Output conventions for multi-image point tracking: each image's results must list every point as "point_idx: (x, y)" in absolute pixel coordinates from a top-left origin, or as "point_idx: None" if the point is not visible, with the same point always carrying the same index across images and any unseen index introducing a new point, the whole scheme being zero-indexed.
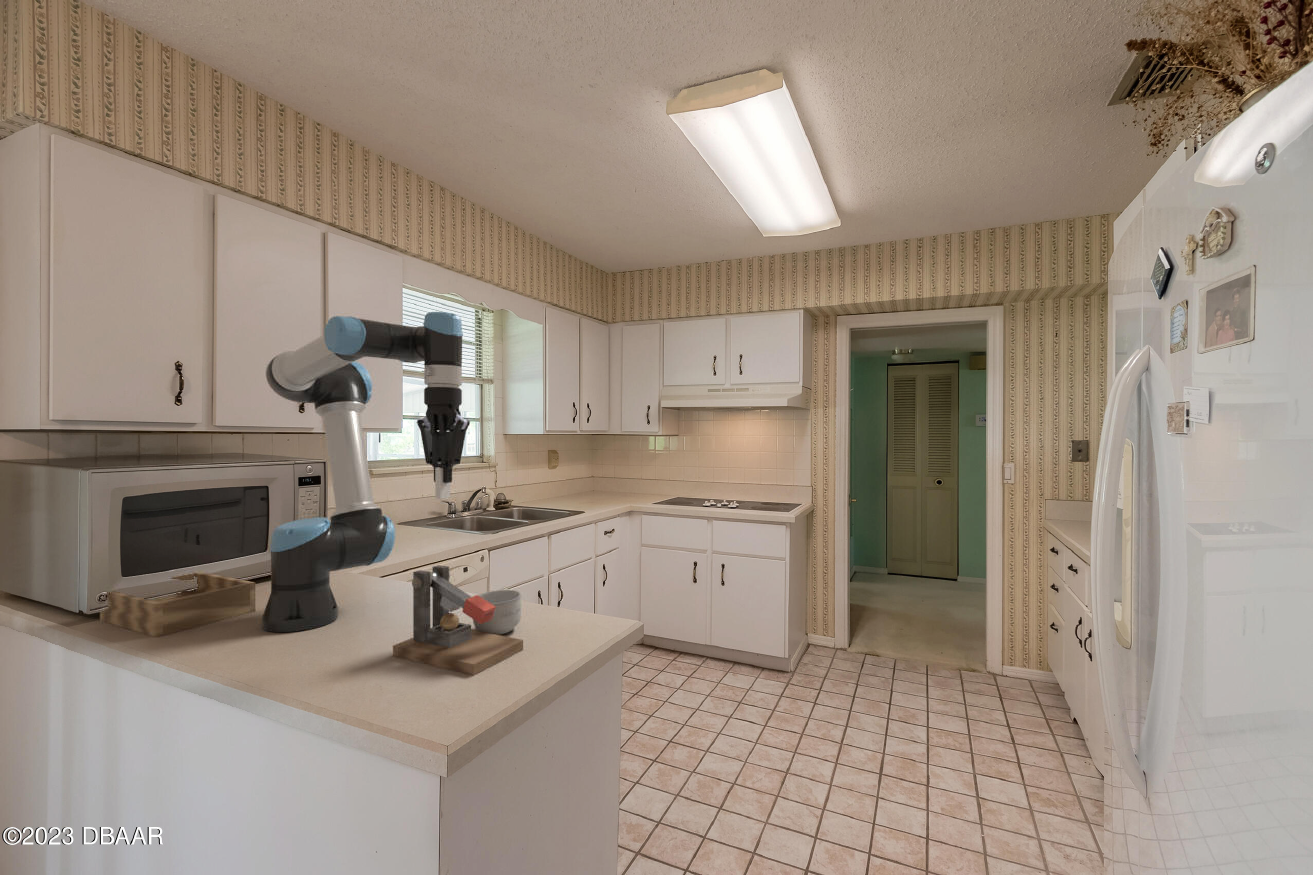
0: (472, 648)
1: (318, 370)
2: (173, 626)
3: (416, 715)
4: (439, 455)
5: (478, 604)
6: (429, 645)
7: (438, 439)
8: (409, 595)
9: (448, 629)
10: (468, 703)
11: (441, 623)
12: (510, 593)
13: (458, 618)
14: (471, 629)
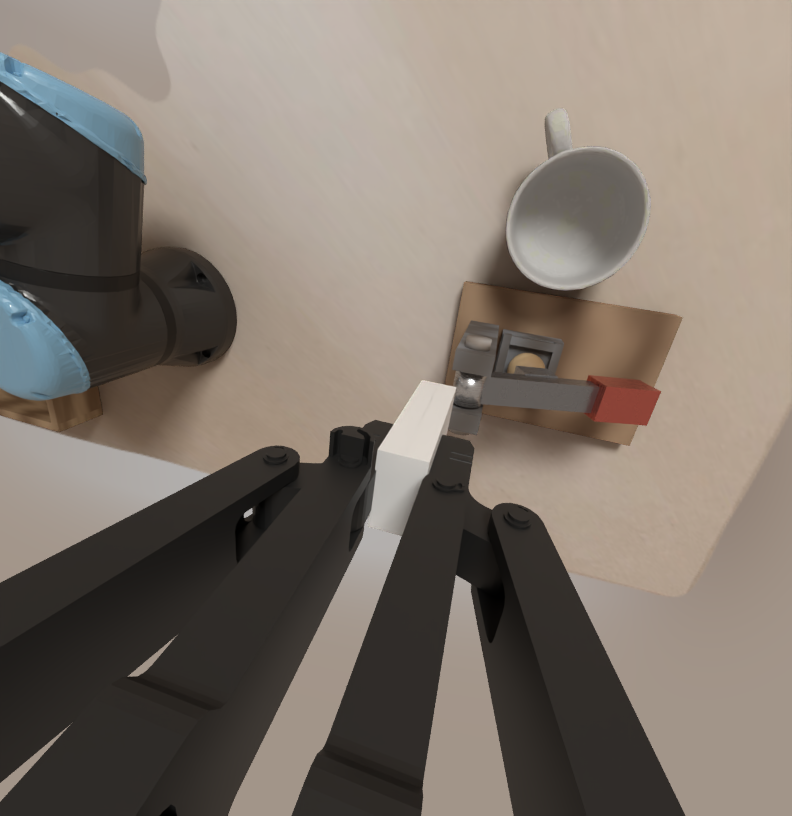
0: None
1: None
2: (92, 399)
3: (603, 549)
4: (340, 560)
5: (625, 415)
6: None
7: (261, 719)
8: (206, 59)
9: None
10: (660, 516)
11: None
12: (592, 155)
13: (542, 363)
14: (563, 343)
